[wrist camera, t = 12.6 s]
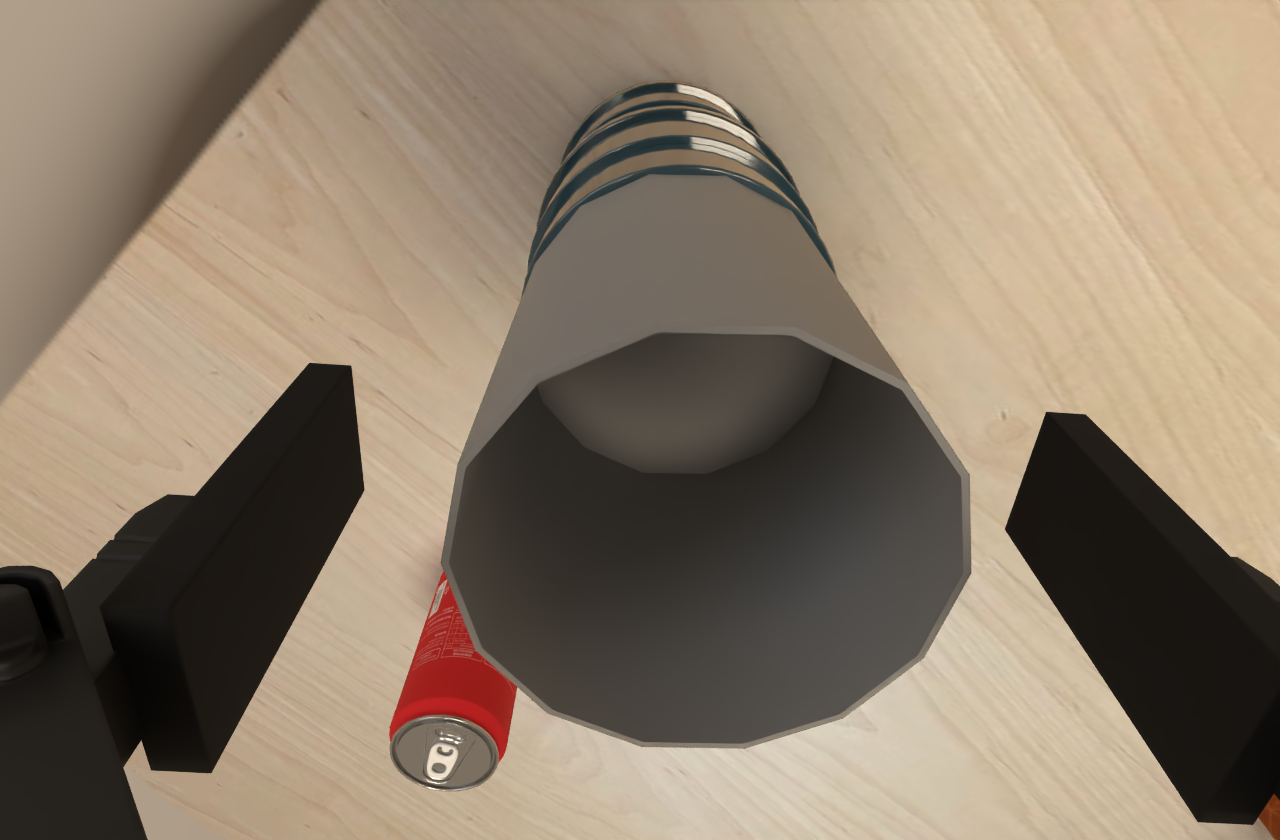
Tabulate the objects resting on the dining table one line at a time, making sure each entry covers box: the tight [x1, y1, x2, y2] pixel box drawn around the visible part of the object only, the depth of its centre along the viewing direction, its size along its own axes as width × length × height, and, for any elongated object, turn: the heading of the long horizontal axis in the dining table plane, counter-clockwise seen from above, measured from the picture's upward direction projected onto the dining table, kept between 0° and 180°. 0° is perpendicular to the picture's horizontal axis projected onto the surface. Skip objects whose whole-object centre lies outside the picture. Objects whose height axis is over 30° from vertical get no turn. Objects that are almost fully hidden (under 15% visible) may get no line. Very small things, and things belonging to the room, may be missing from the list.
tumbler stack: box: [521, 81, 838, 298], centre depth 29 cm, size 9×9×16 cm
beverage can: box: [389, 572, 517, 791], centre depth 41 cm, size 5×5×12 cm
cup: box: [441, 174, 971, 749], centre depth 17 cm, size 8×8×10 cm
